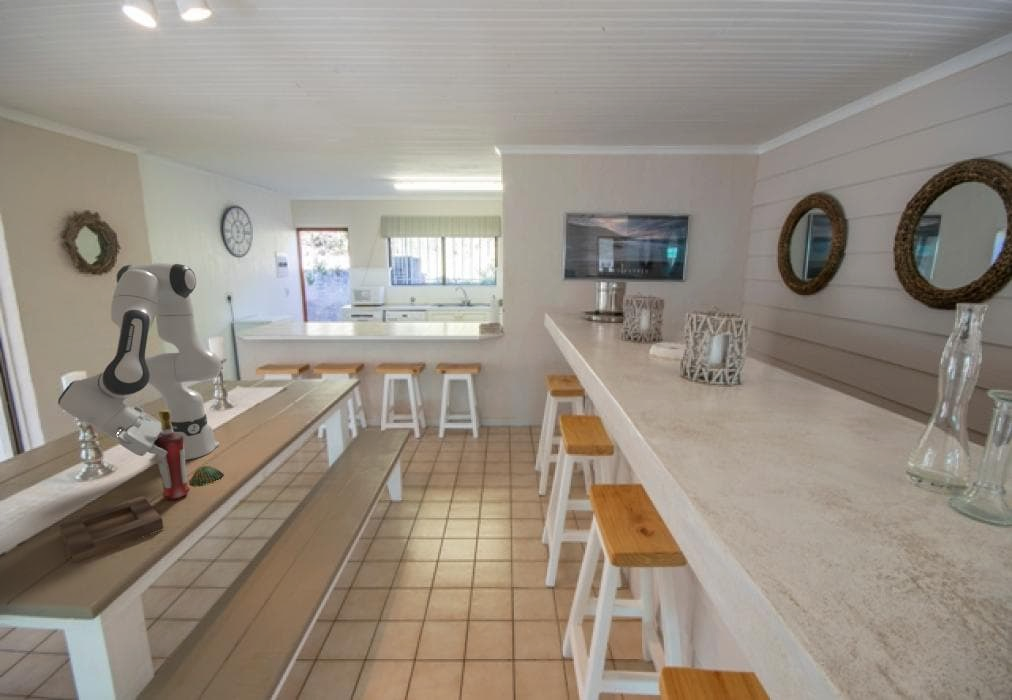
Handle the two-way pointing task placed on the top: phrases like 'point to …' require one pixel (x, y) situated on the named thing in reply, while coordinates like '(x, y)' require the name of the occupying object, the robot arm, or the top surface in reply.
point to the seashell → (206, 475)
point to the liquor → (171, 460)
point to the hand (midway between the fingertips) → (169, 448)
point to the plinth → (109, 528)
